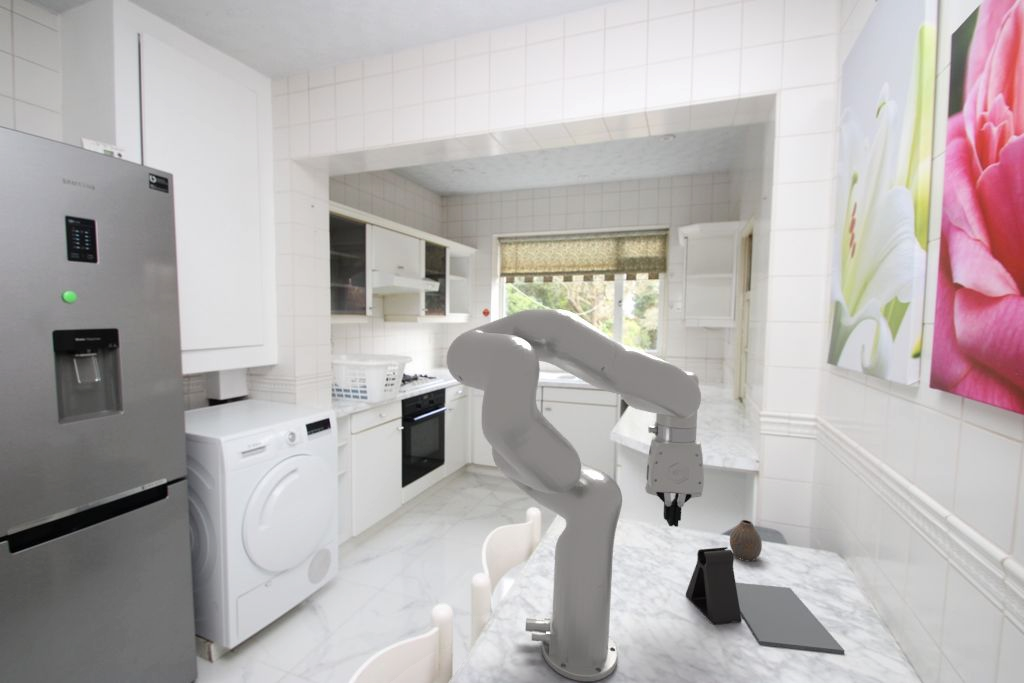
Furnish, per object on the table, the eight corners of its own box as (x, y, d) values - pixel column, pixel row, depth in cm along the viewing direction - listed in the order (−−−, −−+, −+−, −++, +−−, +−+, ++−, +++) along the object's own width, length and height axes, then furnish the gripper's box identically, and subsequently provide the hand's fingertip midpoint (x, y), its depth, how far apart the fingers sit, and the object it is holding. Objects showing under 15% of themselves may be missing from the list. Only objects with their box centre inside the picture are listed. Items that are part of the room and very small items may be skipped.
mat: (759, 644, 77) (759, 641, 77) (721, 583, 95) (721, 581, 95) (844, 653, 76) (844, 650, 76) (789, 590, 93) (789, 587, 93)
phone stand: (741, 622, 83) (745, 560, 82) (713, 625, 82) (717, 563, 81) (710, 593, 92) (714, 537, 91) (685, 595, 90) (688, 539, 90)
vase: (765, 566, 103) (767, 530, 102) (733, 562, 104) (735, 526, 104) (755, 551, 110) (757, 517, 109) (725, 547, 111) (727, 514, 110)
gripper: (640, 436, 83) (636, 529, 84) (722, 440, 82) (717, 535, 83) (633, 426, 91) (630, 512, 92) (708, 430, 89) (704, 517, 90)
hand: (671, 523), depth 87 cm, fingers closed
